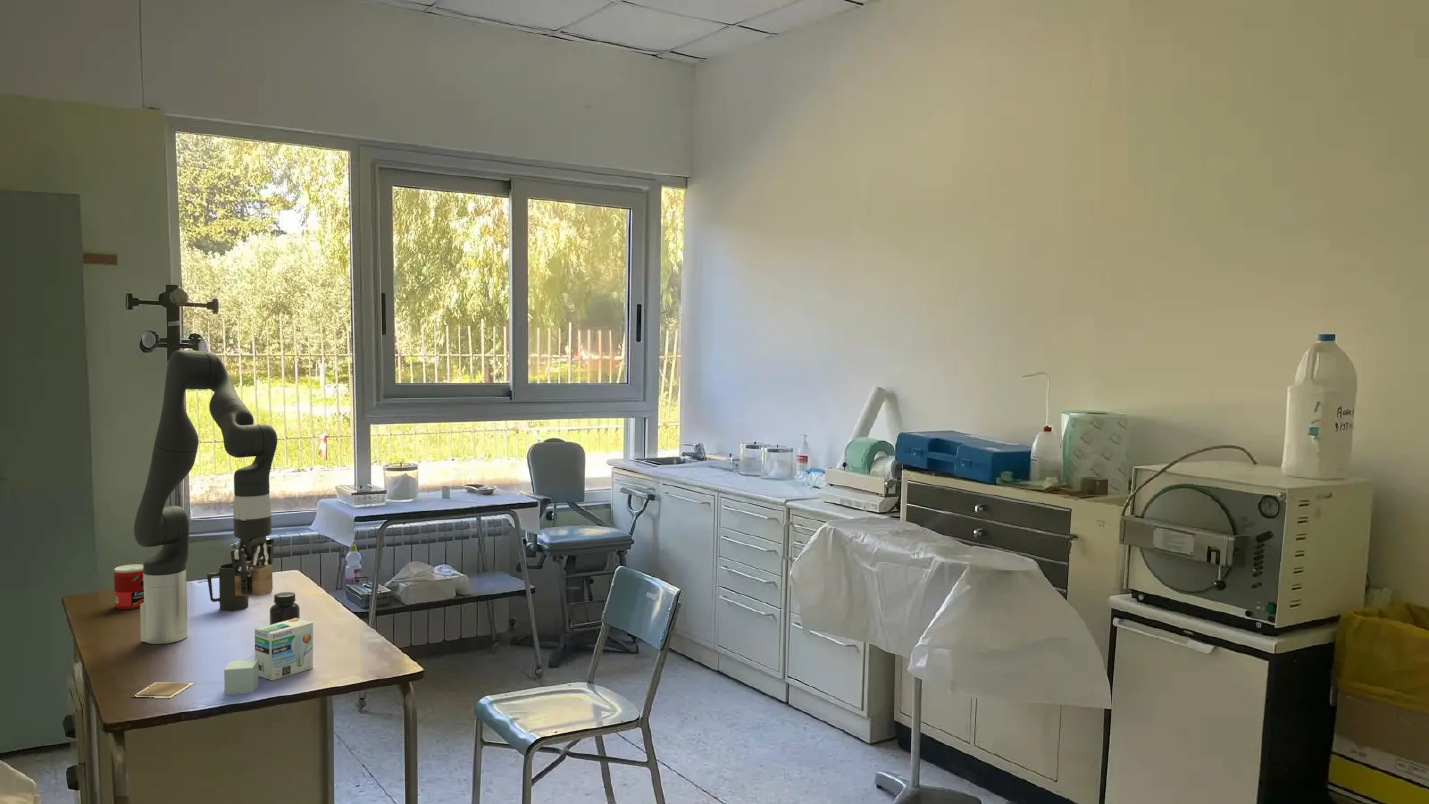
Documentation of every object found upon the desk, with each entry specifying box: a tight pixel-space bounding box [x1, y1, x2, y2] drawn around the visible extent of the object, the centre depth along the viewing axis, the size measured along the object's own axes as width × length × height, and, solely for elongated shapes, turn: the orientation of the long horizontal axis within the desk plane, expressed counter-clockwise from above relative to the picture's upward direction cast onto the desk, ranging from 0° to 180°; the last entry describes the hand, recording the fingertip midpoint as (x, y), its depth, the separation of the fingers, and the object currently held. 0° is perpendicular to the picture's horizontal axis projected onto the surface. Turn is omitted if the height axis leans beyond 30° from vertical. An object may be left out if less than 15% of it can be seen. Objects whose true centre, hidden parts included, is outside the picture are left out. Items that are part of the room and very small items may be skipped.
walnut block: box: [235, 564, 274, 597], centre depth 208 cm, size 6×6×6 cm
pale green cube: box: [223, 659, 260, 695], centre depth 202 cm, size 6×6×6 cm
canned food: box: [113, 563, 144, 610], centre depth 263 cm, size 8×8×11 cm
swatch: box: [134, 681, 194, 699], centre depth 200 cm, size 8×8×1 cm
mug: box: [206, 562, 249, 612], centre depth 261 cm, size 10×7×12 cm
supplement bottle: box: [269, 591, 301, 625], centre depth 234 cm, size 7×7×12 cm
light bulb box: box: [254, 618, 314, 681], centre depth 213 cm, size 11×7×11 cm, turn 148°
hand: (254, 589), depth 208 cm, fingers closed on walnut block, 5 cm apart
